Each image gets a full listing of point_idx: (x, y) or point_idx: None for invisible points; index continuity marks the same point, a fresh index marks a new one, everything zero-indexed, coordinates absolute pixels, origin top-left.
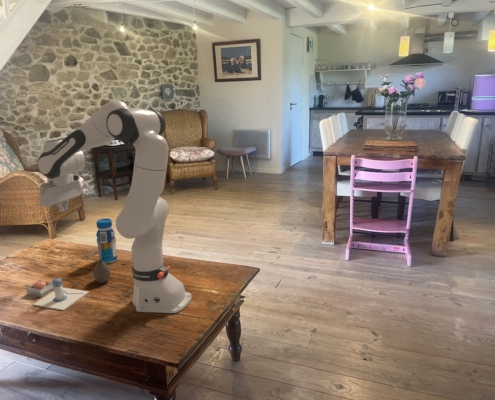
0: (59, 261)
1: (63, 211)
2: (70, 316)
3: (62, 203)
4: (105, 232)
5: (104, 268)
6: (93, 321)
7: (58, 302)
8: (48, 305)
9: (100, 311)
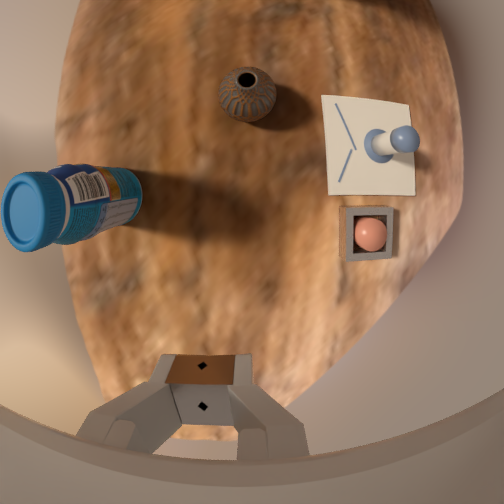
0: (186, 336)
1: (238, 355)
2: (414, 79)
3: (241, 438)
4: (70, 179)
5: (254, 68)
6: (404, 30)
7: None
8: (409, 153)
9: (374, 30)
